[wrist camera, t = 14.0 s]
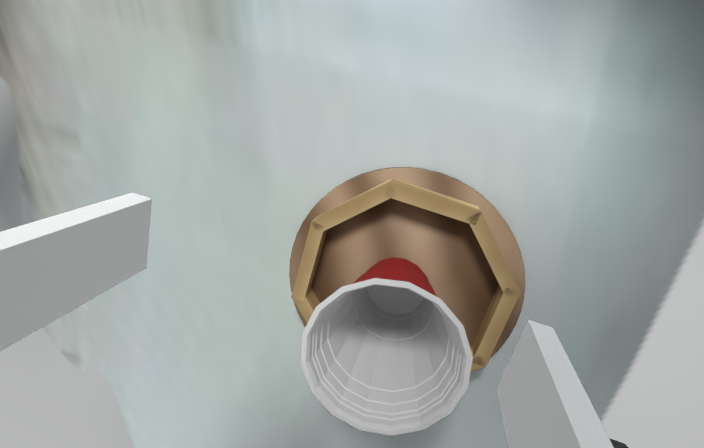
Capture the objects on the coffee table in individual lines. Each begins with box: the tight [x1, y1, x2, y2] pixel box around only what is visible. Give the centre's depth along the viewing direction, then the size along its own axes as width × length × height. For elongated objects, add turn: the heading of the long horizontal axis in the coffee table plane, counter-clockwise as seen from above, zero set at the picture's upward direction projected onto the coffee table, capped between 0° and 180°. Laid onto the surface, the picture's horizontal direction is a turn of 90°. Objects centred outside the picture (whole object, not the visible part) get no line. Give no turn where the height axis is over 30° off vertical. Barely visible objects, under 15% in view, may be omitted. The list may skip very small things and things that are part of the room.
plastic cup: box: [301, 257, 473, 436], centre depth 30 cm, size 11×11×12 cm
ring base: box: [290, 167, 525, 371], centre depth 36 cm, size 21×21×3 cm
